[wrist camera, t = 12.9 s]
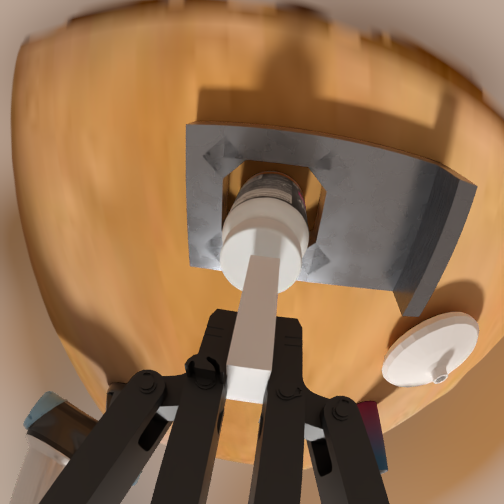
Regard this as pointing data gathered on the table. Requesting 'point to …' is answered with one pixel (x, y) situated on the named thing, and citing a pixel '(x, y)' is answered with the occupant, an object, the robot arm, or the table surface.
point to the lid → (431, 350)
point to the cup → (374, 432)
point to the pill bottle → (266, 228)
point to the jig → (338, 206)
